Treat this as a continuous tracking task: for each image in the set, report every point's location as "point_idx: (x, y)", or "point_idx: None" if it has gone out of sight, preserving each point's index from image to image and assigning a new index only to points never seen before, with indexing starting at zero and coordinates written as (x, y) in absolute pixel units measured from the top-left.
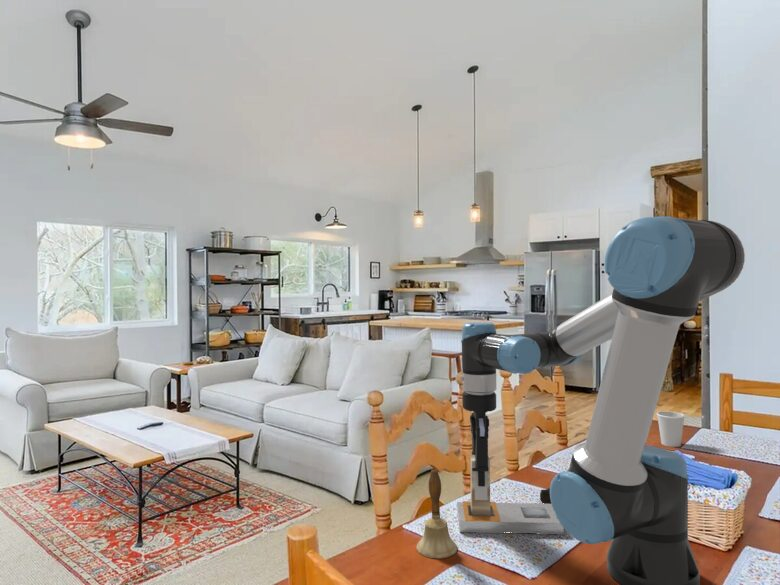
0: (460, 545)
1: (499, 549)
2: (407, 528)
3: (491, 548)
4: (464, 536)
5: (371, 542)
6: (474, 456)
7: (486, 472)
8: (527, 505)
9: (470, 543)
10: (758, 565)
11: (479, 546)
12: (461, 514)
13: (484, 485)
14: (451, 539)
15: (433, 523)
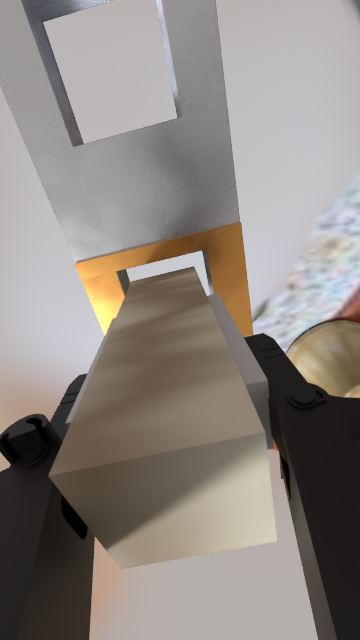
0: (311, 317)
1: (331, 212)
2: None
3: (326, 237)
4: (262, 316)
5: None
6: (150, 544)
7: (261, 375)
8: (36, 106)
9: (299, 296)
10: None
11: (315, 271)
12: None
13: (268, 338)
14: (338, 344)
15: None
